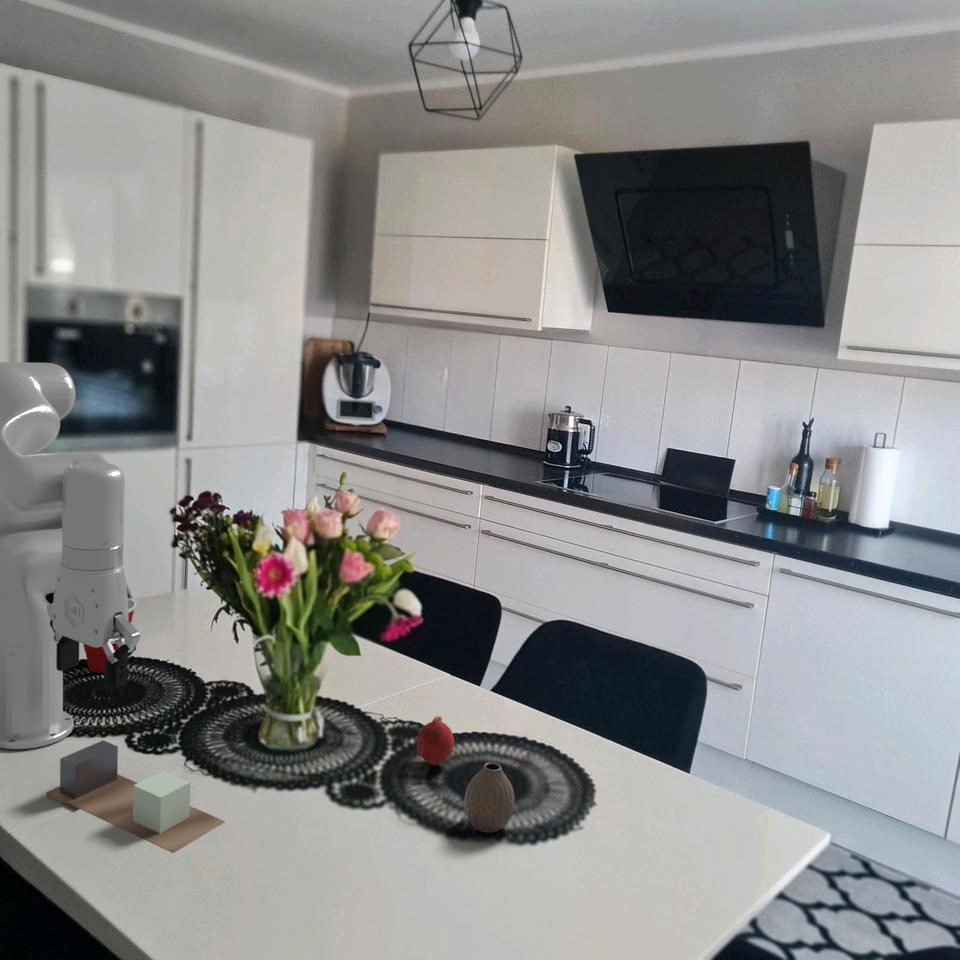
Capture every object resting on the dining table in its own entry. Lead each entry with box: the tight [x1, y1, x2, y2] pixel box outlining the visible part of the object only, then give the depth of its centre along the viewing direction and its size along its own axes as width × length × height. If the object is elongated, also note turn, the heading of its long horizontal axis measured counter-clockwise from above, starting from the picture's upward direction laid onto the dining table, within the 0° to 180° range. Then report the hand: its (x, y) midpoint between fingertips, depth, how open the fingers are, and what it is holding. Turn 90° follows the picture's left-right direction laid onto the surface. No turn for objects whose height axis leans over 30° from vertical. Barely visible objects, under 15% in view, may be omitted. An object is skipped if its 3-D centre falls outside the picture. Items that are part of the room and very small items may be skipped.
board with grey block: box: [45, 739, 226, 854], centre depth 128 cm, size 24×9×6 cm, turn 61°
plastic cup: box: [82, 597, 138, 674], centre depth 173 cm, size 11×11×12 cm
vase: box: [463, 762, 516, 833], centre depth 131 cm, size 7×7×9 cm
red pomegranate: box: [416, 715, 455, 766], centre depth 147 cm, size 6×6×8 cm
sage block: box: [133, 770, 191, 833], centre depth 125 cm, size 5×5×5 cm
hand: (91, 677), depth 130 cm, fingers open, 9 cm apart
